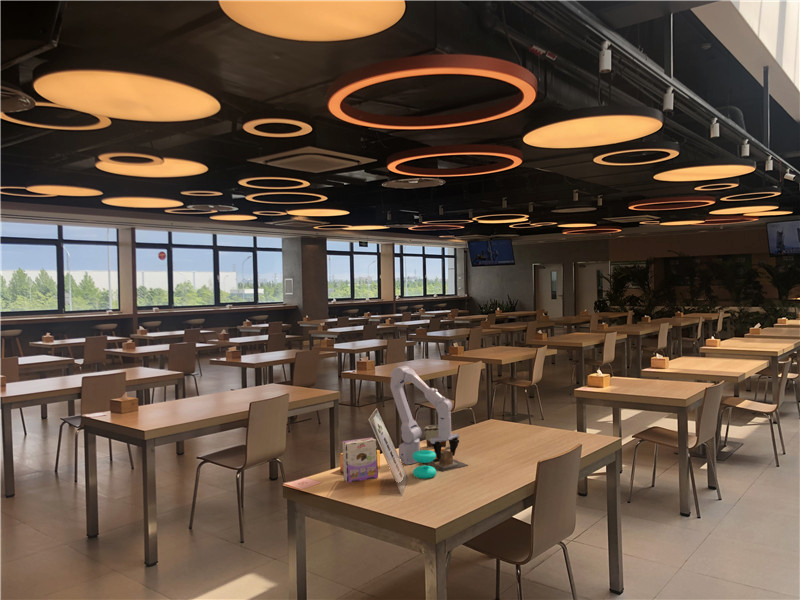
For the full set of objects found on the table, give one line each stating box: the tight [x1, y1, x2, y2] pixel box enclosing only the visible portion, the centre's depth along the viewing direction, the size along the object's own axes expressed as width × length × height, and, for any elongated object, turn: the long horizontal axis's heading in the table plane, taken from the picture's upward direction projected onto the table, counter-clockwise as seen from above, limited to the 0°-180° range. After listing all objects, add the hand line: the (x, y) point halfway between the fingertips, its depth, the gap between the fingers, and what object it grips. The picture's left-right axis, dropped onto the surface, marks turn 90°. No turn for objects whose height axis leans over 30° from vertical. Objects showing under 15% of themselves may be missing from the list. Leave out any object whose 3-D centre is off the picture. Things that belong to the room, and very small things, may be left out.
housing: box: [439, 450, 454, 465], centre depth 265 cm, size 4×4×5 cm
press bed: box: [423, 458, 468, 472], centre depth 267 cm, size 14×18×3 cm
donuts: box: [412, 449, 437, 480], centre depth 251 cm, size 10×10×10 cm
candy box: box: [341, 436, 379, 483], centre depth 250 cm, size 14×6×16 cm, turn 111°
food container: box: [423, 424, 447, 448], centre depth 298 cm, size 12×6×10 cm, turn 84°
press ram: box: [429, 444, 459, 460], centre depth 274 cm, size 18×2×8 cm, turn 121°
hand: (445, 456), depth 266 cm, fingers open, 7 cm apart
